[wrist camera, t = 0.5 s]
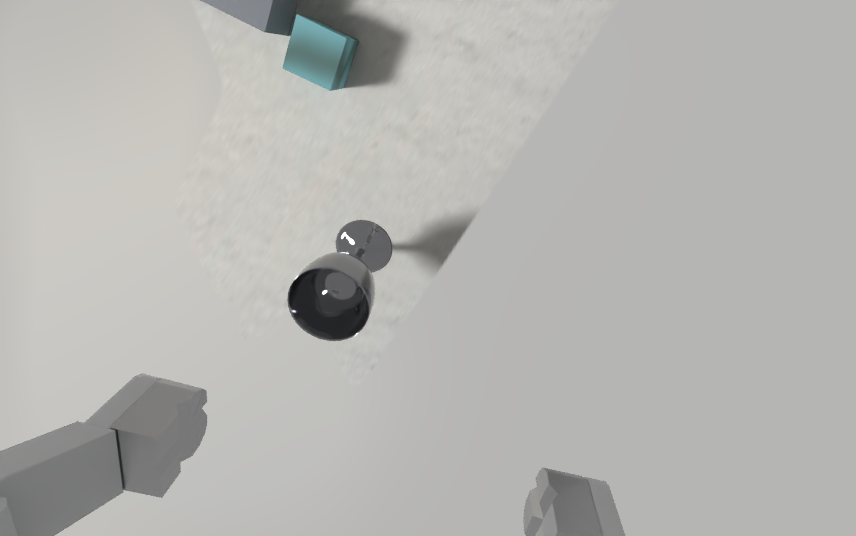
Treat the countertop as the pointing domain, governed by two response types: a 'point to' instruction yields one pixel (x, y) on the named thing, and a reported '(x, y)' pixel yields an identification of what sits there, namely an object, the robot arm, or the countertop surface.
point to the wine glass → (341, 283)
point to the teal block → (319, 53)
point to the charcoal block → (260, 13)
